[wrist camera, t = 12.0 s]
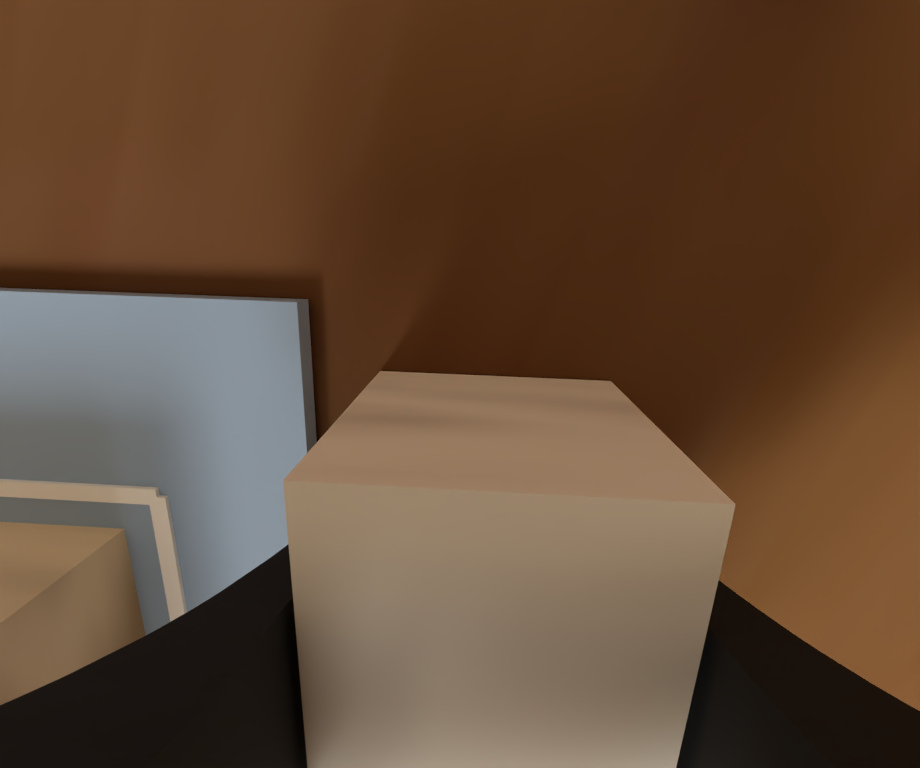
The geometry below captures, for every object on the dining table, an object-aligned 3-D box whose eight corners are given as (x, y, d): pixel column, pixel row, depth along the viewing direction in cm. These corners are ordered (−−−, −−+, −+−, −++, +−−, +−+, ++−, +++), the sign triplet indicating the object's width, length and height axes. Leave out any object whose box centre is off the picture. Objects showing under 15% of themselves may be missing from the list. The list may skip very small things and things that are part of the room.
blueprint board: (342, 866, 14) (335, 896, 14) (-74, 830, 15) (-99, 857, 14) (308, 299, 10) (294, 302, 9) (-312, 275, 10) (-368, 277, 9)
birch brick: (577, 642, 12) (642, 914, 7) (384, 629, 12) (317, 885, 7) (610, 380, 10) (735, 504, 5) (380, 371, 10) (282, 480, 5)
